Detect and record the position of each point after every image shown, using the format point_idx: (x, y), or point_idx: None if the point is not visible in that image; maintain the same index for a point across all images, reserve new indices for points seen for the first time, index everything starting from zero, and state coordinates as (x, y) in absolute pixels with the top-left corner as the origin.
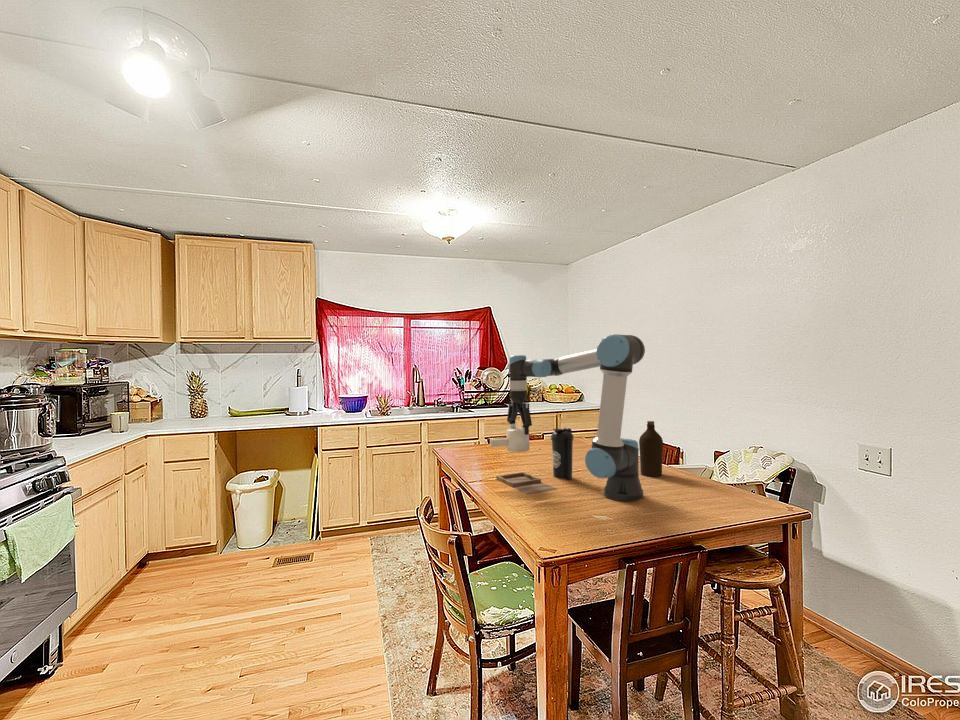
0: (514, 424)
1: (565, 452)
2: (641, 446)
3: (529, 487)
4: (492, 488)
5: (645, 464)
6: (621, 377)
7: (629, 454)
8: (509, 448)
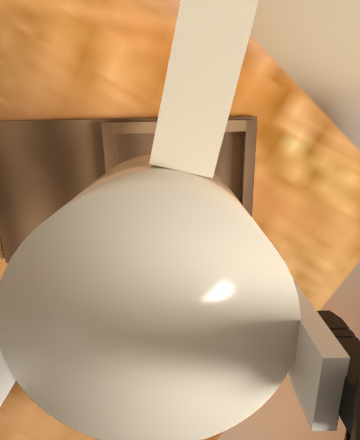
0: (311, 402)
1: None
2: None
3: (67, 182)
4: (157, 42)
5: None
6: None
7: None
8: (137, 158)
